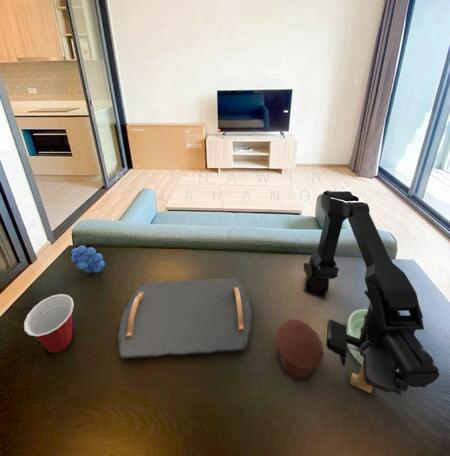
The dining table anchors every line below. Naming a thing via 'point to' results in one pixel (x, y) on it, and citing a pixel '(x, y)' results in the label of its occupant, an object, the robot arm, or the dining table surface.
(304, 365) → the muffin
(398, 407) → the dining table surface
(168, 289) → the serving tray
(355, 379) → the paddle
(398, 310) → the robot arm
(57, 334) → the plastic cup
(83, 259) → the grapes
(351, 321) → the bowl
